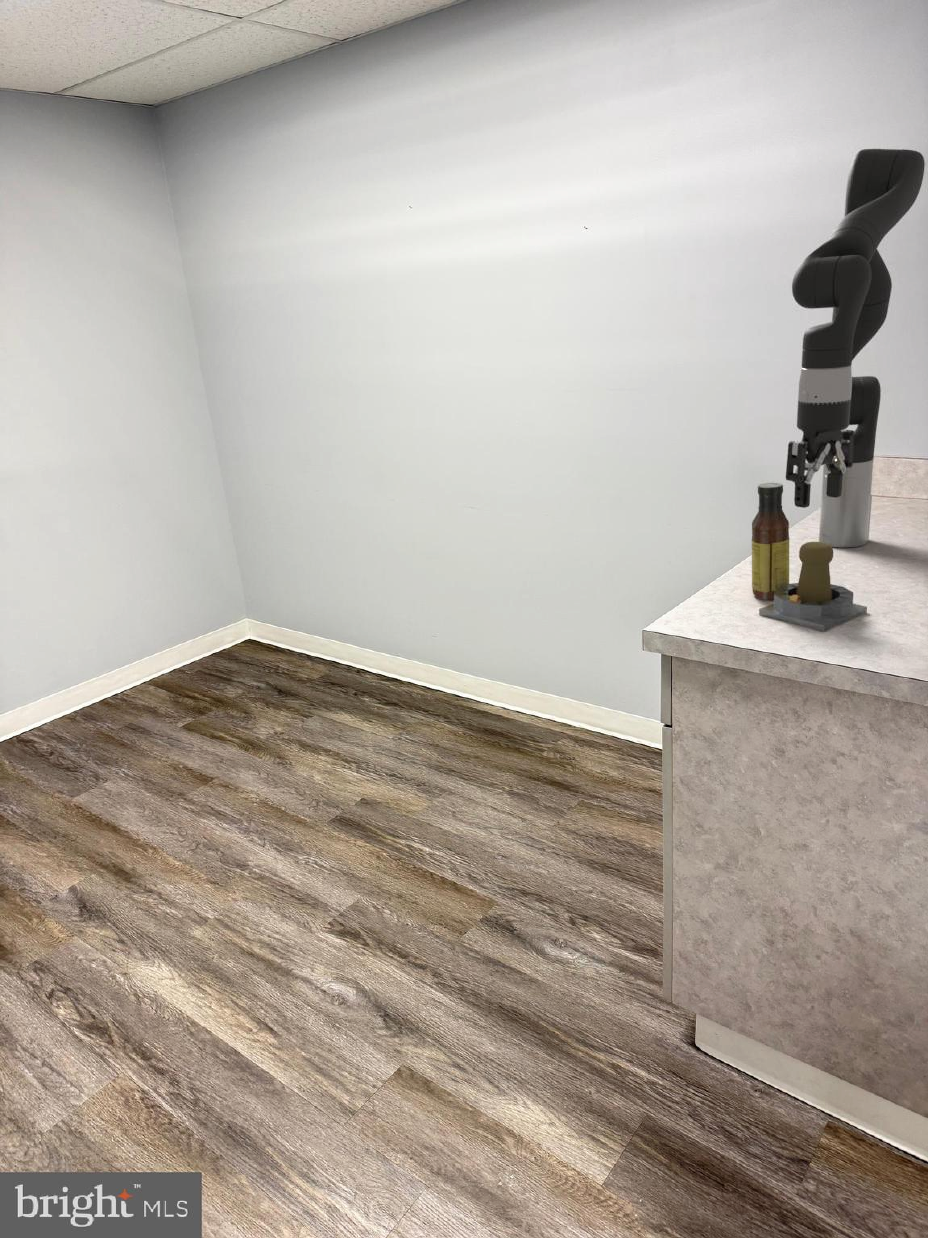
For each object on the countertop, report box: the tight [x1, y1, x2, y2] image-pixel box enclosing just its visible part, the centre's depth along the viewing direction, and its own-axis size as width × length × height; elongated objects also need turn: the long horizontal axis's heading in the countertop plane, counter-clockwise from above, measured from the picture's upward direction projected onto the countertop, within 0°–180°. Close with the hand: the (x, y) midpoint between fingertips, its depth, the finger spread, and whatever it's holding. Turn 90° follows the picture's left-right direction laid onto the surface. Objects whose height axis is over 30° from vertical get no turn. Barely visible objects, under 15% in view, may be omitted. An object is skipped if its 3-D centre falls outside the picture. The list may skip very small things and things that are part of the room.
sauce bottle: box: [751, 482, 790, 601], centre depth 155 cm, size 6×6×20 cm
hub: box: [758, 582, 868, 633], centre depth 148 cm, size 12×12×4 cm
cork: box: [796, 541, 834, 602], centre depth 147 cm, size 6×6×11 cm
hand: (818, 501), depth 143 cm, fingers open, 8 cm apart
